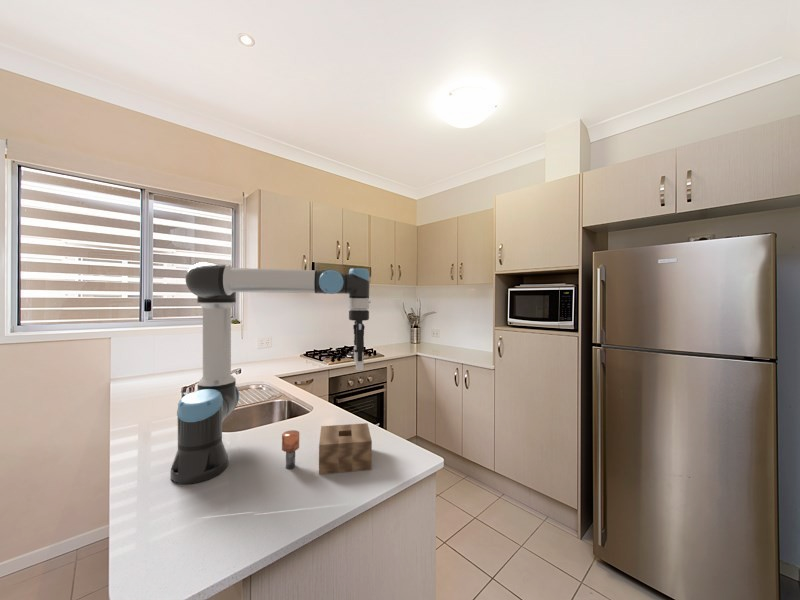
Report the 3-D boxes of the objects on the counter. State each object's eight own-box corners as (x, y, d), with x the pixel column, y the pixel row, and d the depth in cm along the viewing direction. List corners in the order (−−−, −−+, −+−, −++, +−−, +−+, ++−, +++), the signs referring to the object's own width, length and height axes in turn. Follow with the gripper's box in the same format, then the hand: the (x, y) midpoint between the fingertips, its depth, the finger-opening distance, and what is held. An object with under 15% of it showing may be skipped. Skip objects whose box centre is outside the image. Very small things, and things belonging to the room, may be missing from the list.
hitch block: (318, 474, 97) (319, 445, 97) (321, 452, 111) (321, 426, 111) (371, 469, 100) (371, 441, 100) (367, 448, 114) (367, 423, 114)
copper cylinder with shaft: (280, 471, 98) (280, 438, 98) (283, 463, 104) (283, 430, 103) (298, 470, 99) (298, 436, 99) (300, 461, 105) (300, 429, 104)
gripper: (372, 311, 109) (371, 373, 110) (366, 308, 134) (365, 358, 134) (350, 311, 108) (349, 374, 108) (348, 308, 132) (347, 359, 133)
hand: (358, 365), depth 121 cm, fingers open, 13 cm apart
